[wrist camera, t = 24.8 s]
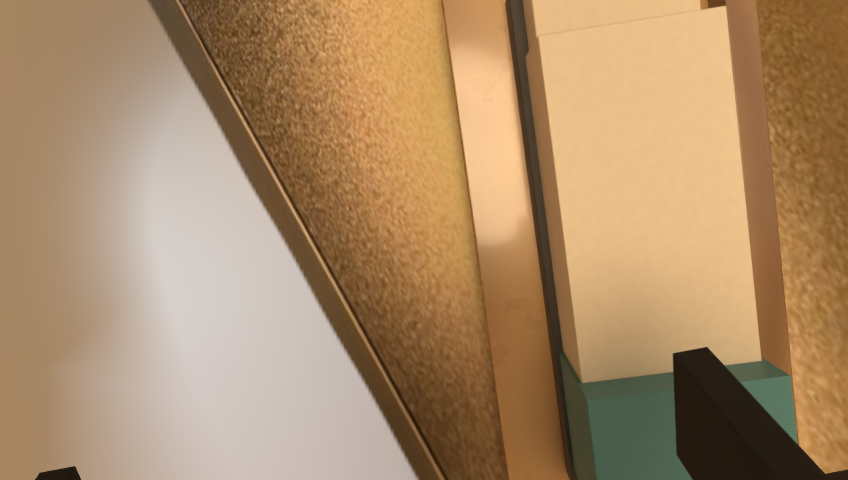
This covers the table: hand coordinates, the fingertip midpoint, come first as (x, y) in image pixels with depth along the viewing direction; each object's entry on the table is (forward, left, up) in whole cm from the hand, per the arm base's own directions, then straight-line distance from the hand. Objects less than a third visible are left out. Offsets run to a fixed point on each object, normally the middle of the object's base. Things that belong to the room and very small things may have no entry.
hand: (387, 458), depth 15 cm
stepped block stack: (+10, +2, -20) cm, 22 cm away
